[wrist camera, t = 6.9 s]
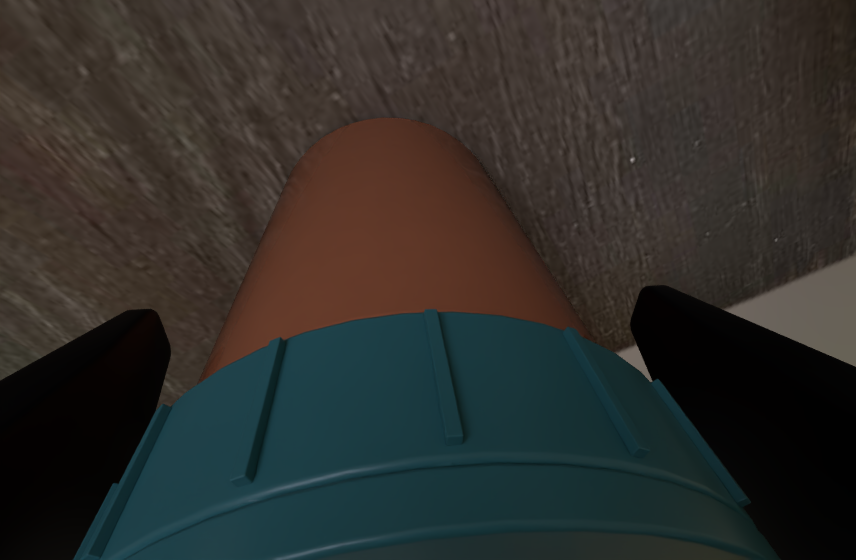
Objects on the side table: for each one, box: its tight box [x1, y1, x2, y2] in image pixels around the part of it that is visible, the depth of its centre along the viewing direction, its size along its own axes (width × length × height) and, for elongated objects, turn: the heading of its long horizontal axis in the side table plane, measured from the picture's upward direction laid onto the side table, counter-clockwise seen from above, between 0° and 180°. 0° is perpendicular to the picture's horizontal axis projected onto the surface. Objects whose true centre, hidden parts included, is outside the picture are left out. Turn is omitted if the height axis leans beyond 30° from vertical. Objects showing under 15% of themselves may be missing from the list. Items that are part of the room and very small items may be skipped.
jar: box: [197, 118, 597, 385], centre depth 9 cm, size 6×6×10 cm
